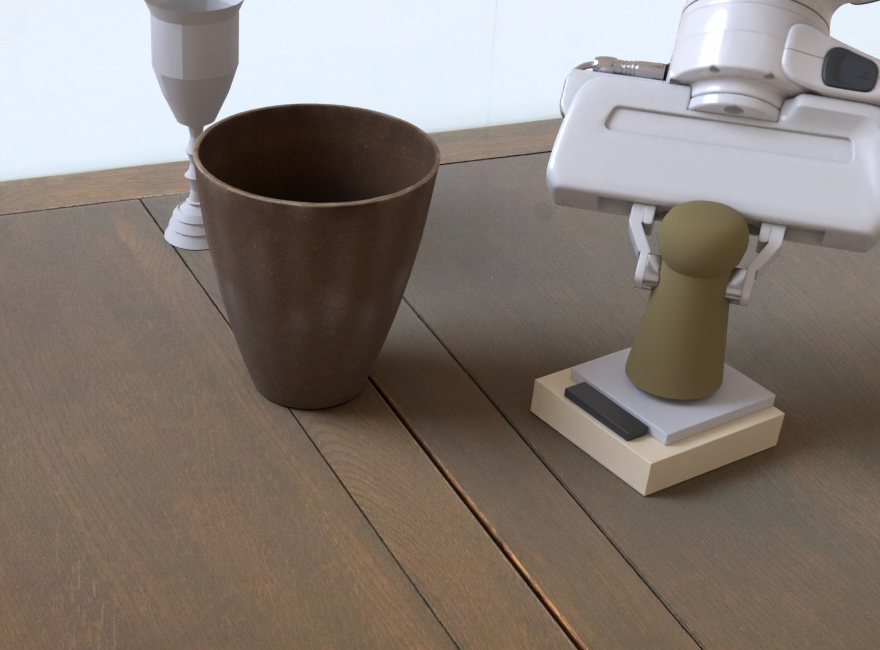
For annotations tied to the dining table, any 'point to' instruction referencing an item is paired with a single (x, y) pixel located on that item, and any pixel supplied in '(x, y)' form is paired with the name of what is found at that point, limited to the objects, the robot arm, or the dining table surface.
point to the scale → (655, 422)
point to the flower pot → (313, 239)
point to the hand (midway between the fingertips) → (690, 294)
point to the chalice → (193, 83)
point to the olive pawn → (689, 302)
